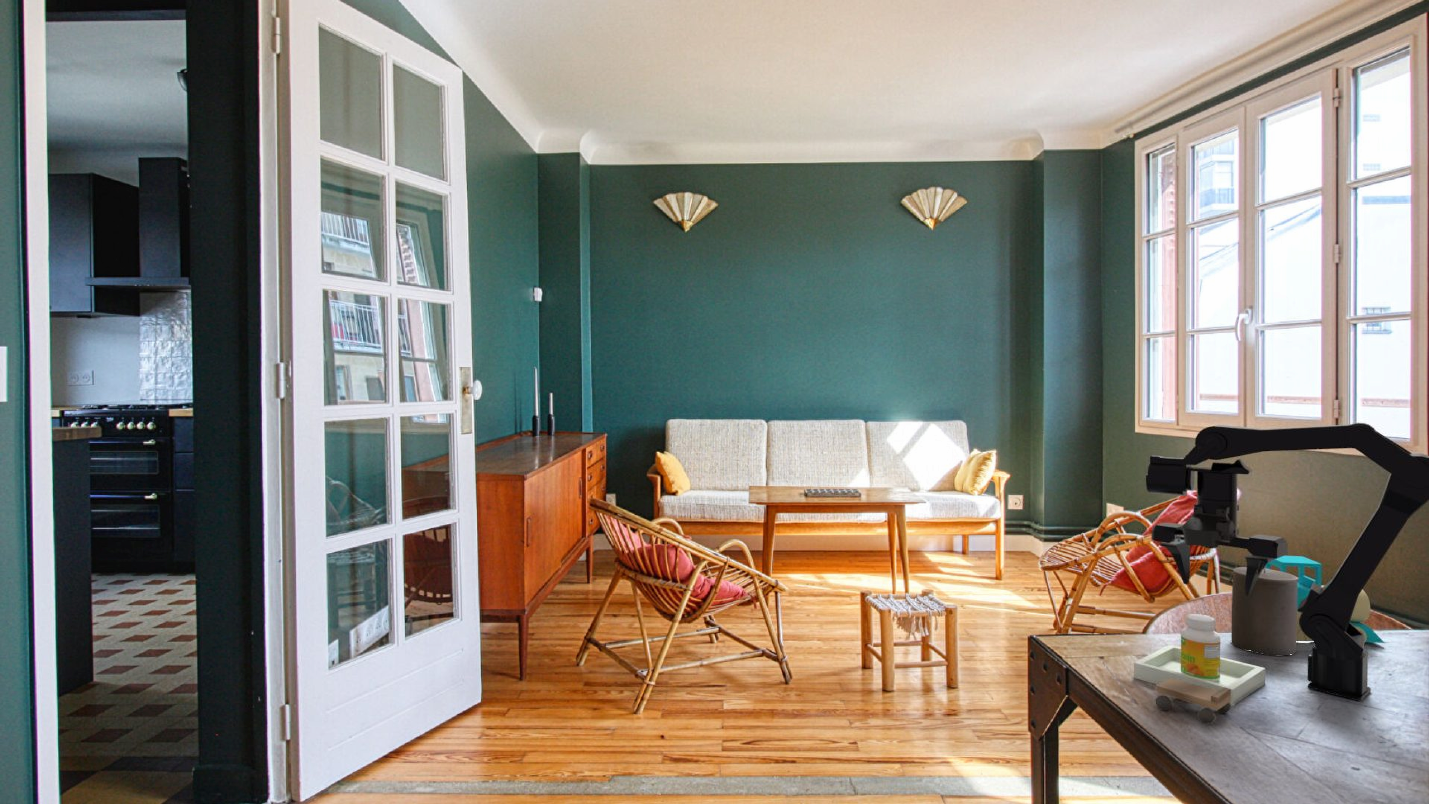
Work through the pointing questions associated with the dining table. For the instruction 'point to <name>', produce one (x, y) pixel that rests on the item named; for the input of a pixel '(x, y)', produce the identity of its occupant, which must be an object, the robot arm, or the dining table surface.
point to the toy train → (1305, 583)
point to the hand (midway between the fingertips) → (1215, 589)
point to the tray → (1231, 676)
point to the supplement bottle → (1200, 648)
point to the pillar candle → (1265, 612)
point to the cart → (1194, 698)
